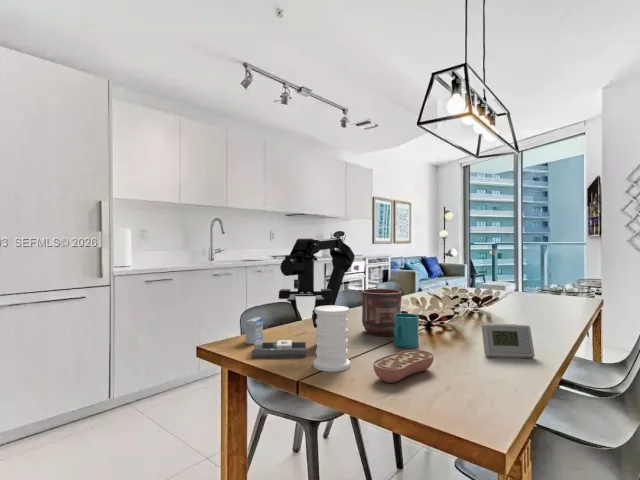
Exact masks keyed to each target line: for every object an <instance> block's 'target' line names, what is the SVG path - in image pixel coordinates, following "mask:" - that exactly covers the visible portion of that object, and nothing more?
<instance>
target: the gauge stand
mask: <svg viewBox="0 0 640 480" xmlns="http://www.w3.org/2000/svg"><path fill="white" fill-rule="evenodd" d="M264 339H265V338H263V339H257V340H256V342H255V344H253V349H252V350H251V352H252V353H251V354H252V355H251V358H252V359H255V358H258V359H260V358H307V348H306V347H307V346H306V345H307V344H306V343H307V342H306V341H292V349H277V348H273V344H277V342H278V341H265V340H264Z"/></svg>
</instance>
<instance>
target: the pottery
mask: <svg viewBox="0 0 640 480" xmlns="http://www.w3.org/2000/svg"><path fill="white" fill-rule="evenodd" d="M402 297H403V292H402V291H401V290H400V289H399V290H398V289H391V288H368V289H367V288H366V289H362V290H361V306H362V311H361V322H362V326H363V328H364V330H365V331H366V332H367V334H370V335H372V336H377V337H388V336H394V315H395V314H399V313H402Z"/></svg>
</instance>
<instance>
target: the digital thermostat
mask: <svg viewBox="0 0 640 480" xmlns="http://www.w3.org/2000/svg"><path fill="white" fill-rule="evenodd" d="M531 330H532V329H531V325H529V324H517V323H516V324H515V323H514V324H513V323H484V324H481V332H482V342H483V350H484V351H483V352H484V355H485V357H492V358H498V359H499V358H501V359H522V358H524V359H533V358H535V350H534V343H533V336H532V331H531Z"/></svg>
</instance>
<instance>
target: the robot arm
mask: <svg viewBox="0 0 640 480" xmlns="http://www.w3.org/2000/svg"><path fill="white" fill-rule="evenodd" d="M324 250H329V255H330V257H331V264H332V271H331V273H330V277H329V280H328V282H327V285H326V288H320V290H315V262H317V261H318V258H317V257H316V256H315V255H316V254H318V253H319V252H320V251H324ZM284 256H285V257H284V259H283V260H282V261H281V263H280V267H279V268H280V272H281V273H282V275H283V276H285V277H290V276H297V279H293V289H295V290H296V289H297V291H295V290H292V291H291V288H281V289H280V290H278V299H279V300H286V301H287V302H290V304H291V306H292V308H293V311H294V315H295V318H296V319H298V318H299V315H298V314H299V313H298V311H299V310H298V305H297V304H298V303H297V298H296V297H314V299H315V300H314V307H313V310H312V314H311V320H312V325H313V327H314V328H316V329H317V324H316V319H317V314H316V313H315V307H319V306H328V305H334V306H336V305H335V304H336V301H337V298H338V295H339V293H340V289H341V286H342V283H343V279H344V277H345V274H346V272H347V271H348V270H349V269H350V268H351V267H352V265H353V263H354V261H355V258H356V257H355V253H354V252H353V250H352V248H351V247H350V246H349V245H347V244H346V243H345V242H344V240H343V239H342V238H341V237H330V238H325V239H324V238H323V239H318V238H311V237H310V238H297V239H296V240H295V243H294V245H293V246H292V249H291V251H290V253H289V255H284Z"/></svg>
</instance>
